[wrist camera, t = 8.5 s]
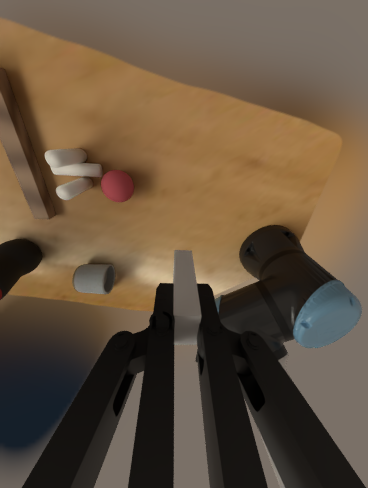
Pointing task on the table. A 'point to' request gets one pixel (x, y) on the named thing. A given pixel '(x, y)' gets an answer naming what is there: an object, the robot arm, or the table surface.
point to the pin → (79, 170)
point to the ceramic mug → (94, 278)
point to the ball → (117, 186)
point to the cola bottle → (16, 262)
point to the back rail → (22, 153)
